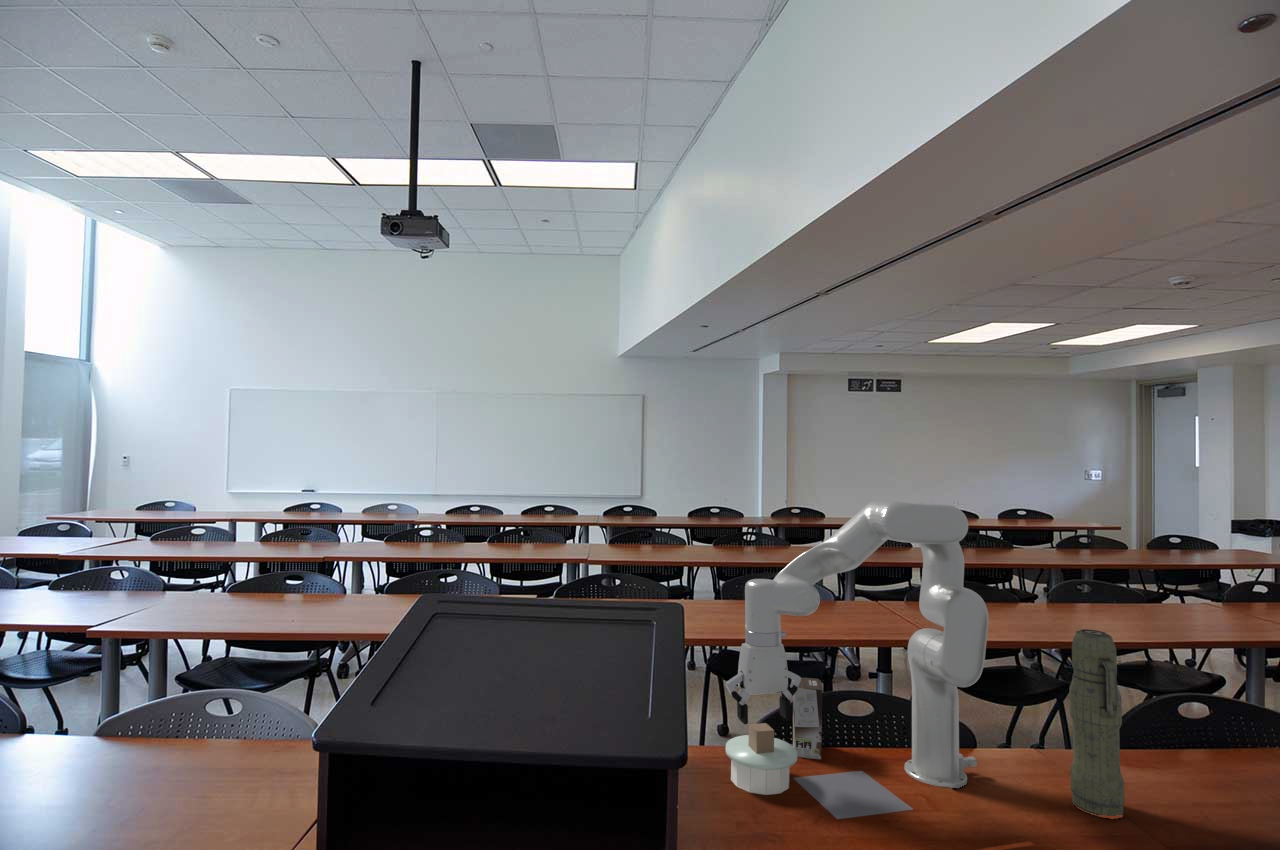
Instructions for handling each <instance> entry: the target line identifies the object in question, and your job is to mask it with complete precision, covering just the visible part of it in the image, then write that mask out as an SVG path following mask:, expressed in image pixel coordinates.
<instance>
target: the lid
mask: <svg viewBox="0 0 1280 850" xmlns="http://www.w3.org/2000/svg"><path fill="white" fill-rule="evenodd" d="M725 754H726V756H727V757H728V758H729V759H730V761H731V760H733V761H734V762H736V763H738V764H741V765H743V766H747V767H750V768H755V769H762V770H778V769H784V768H788V767H789V768H790V767H792V766H794V765H795V764H796V763H797V762H798V761H797V760H798V757H797V751H796V749H795V748H794V747H793V744H791V743H788V741H785V740H782V739H780V738H777V737H775V730H774V729H773V728H772V727H771V726H770V725H769V724H768V723H766V722H764V723H763V722H762V723H748V734H745V735H743V734H742V735H738V736H735V737H732V738H731V739H728V740H727V742H726V743H725Z"/></svg>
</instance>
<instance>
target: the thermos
mask: <svg viewBox="0 0 1280 850" xmlns="http://www.w3.org/2000/svg"><path fill="white" fill-rule="evenodd" d="M1117 661H1118V659H1117V648H1116V645H1115V642H1114V640H1113V637H1112V636H1111V635H1110V634H1108V633H1107V632H1106V631H1101V630H1096V629H1088V628H1087V629H1086V628H1085V629H1084V628H1083V629H1079V630H1076V632H1075V633H1074V637H1073V638H1072V642H1071V663H1072V664H1071V666H1072V667H1071V668H1073V673H1072V676H1071V677H1072V679H1071V683H1070V685H1069V691H1068V694H1069V696H1068V697H1069V698H1068V699H1069V700H1068V701H1069V715H1070V717H1071V720H1072V756H1073V757H1072V759H1073V761H1072V763H1071V765H1070V791H1071V793H1072V794H1071V795H1072V796H1071V803H1072V802H1073V803H1074V804H1075V805H1076V806H1077V807H1079V808H1081V809H1083V810H1084V811H1087V812H1089V813H1093V814H1096V815H1107V816H1116V815H1124V816H1125V813H1124V804H1125V780H1124V777H1123V775H1122V773H1121V748H1120V747H1121V745H1120V741H1121V740H1120V739H1121V738H1120V729H1121V726H1122V725H1123V712H1122V711H1123V710H1122V709H1123V708H1122V707H1123V706H1122V696H1121V693H1120V690H1119V687H1118V680H1117V677H1118V676H1117V675H1118V667H1117V666H1118V665H1117V664H1118V662H1117Z"/></svg>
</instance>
